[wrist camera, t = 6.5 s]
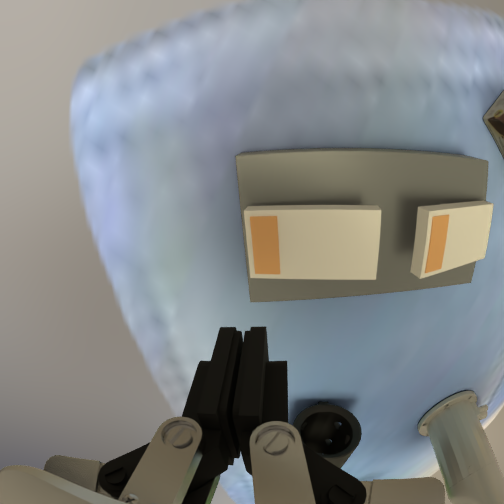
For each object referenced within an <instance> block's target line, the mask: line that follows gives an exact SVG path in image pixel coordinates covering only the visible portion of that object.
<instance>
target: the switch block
mask: <svg viewBox="0 0 504 504" xmlns="http://www.w3.org/2000/svg"><path fill="white" fill-rule="evenodd" d="M235 157H236V167H237V177H238V187H239V197H240V207H241V217H242V226H243V236H244V246H245V255H246V265H247V274H248V283H249V293H250V302H268V301H288V300H306V299H321V298H335V297H348V296H359V295H371V294H381V293H391V292H401V291H410V290H418V289H427V288H435V287H443V286H450V285H457V284H465V283H471V280H472V276H473V272H474V268H475V263H476V261H474V262H471V263H468V264H465V265H462V266H459V267H456V268H453V269H450V270H447V271H444V272H441V273H438V274H434V275H431V276H428V277H425V278H421V279H420V278H418V277H417V276H415V275H414V274H413V273H411V272H410V271H411V265H412V258H413V250H414V242H415V234H416V224H417V212H418V207H420V206H430V205H440V204H450V203H460V202H471V201H482V200H484V201H486V192H487V178H488V161H486V160H482V159H478V158H474V157H470V156H466V155H459V154H450V153H440V152H429V151H416V150H400V149H376V148H311V149H287V150H270V151H256V152H244V153H240V154H238V155H237V156H235ZM274 205H378V206H379V208H380V209H381V228H380V242H379V254H378V264H377V274H376V280H325V279H268V278H250V269H249V259H248V249H247V239H246V229H245V219H244V210H245V209H246V208H247V207H248V206H274Z"/></svg>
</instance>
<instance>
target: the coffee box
mask: <svg viewBox="0 0 504 504" xmlns="http://www.w3.org/2000/svg"><path fill="white" fill-rule="evenodd" d="M483 120H484V122H485V124H486V125H487V127H488V129H489V131H490V132H491V134H492V136H493V138H494V140H495V142H496V144H497V146H498V148H499V150H500V152H501V154H502V156H503V158H504V91H503V92H502V93H501V95H500V96H499V97H498V99H497V100H496V101H495V103H494V104H493V105H492V106H491V108H490V109H489V110H488V111H487V113H486V114H485V115H484V117H483Z"/></svg>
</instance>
